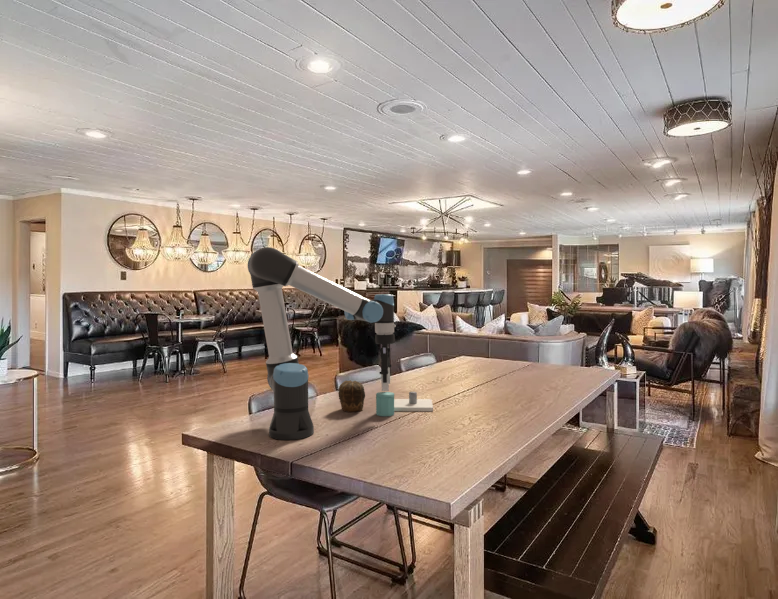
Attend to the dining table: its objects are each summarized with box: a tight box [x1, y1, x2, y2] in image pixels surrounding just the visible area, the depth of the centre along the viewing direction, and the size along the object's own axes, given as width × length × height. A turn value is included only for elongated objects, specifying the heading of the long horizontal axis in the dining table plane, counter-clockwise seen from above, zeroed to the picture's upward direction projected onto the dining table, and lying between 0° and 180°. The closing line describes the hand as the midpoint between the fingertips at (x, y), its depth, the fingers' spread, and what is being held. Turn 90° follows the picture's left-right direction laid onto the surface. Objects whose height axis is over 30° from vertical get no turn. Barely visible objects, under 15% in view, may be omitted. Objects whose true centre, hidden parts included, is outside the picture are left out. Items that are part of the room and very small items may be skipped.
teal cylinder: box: [375, 391, 395, 417], centre depth 199 cm, size 7×7×8 cm
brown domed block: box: [338, 380, 366, 413], centre depth 206 cm, size 11×11×12 cm
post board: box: [394, 391, 434, 412], centre depth 211 cm, size 15×16×6 cm
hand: (386, 387), depth 199 cm, fingers open, 13 cm apart
